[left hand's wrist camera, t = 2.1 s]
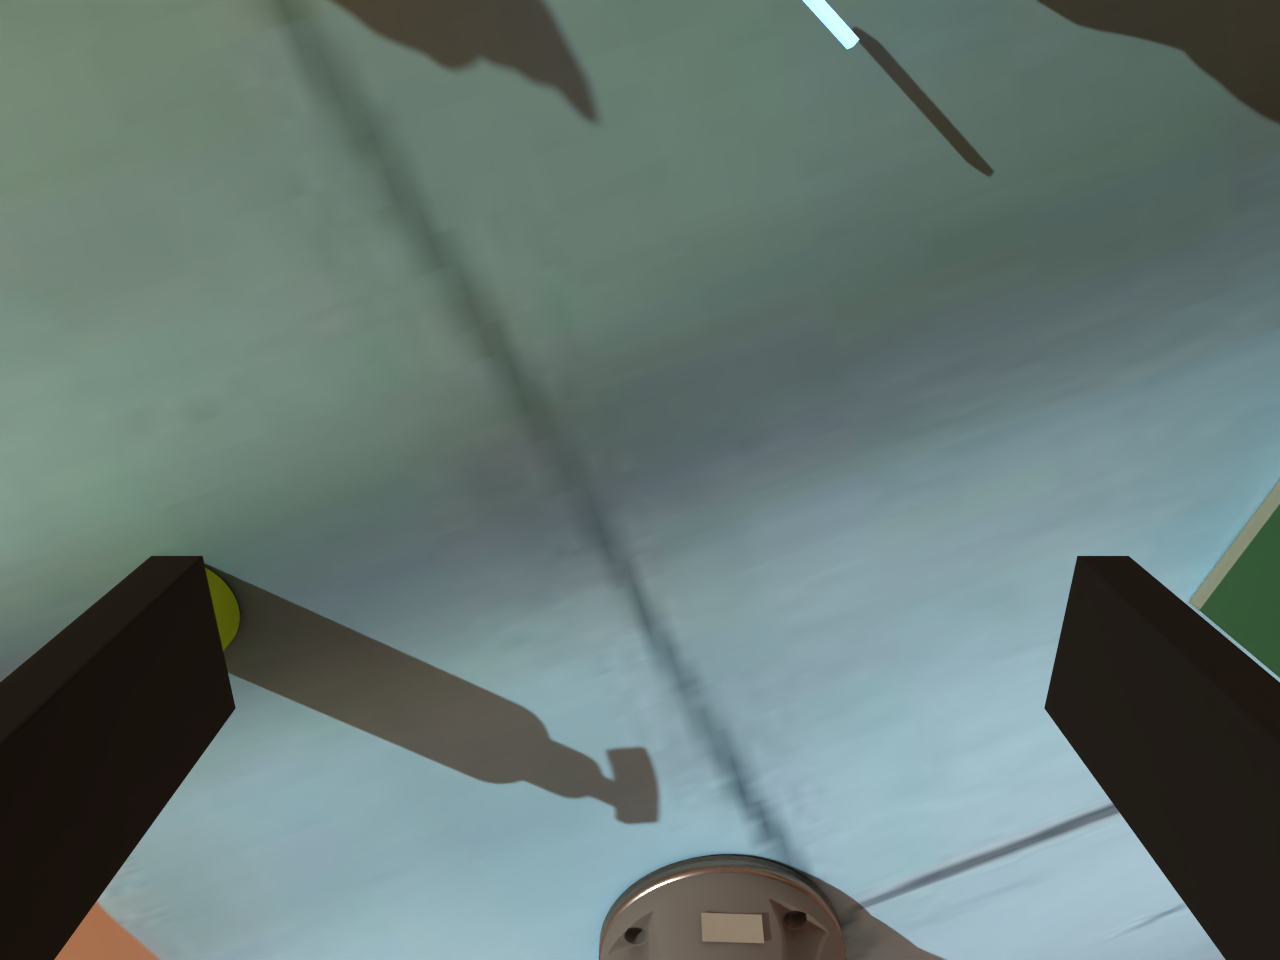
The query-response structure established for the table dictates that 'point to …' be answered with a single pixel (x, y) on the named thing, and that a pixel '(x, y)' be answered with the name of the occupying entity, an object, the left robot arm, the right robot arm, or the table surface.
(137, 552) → the table surface
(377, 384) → the table surface
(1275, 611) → the cabinet
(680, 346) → the table surface
